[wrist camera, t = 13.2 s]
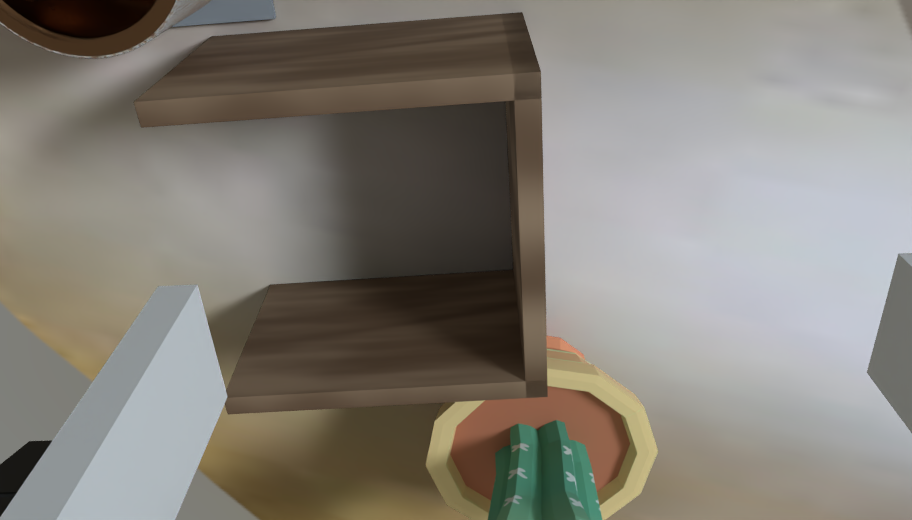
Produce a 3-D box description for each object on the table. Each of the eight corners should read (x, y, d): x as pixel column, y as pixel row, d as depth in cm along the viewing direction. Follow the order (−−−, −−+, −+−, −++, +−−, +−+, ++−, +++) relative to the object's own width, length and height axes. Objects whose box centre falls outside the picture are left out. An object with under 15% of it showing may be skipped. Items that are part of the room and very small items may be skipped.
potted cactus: (484, 265, 52) (498, 582, 30) (674, 342, 55) (812, 679, 33) (398, 418, 59) (359, 765, 37) (571, 479, 62) (628, 831, 40)
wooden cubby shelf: (211, 36, 44) (133, 102, 34) (522, 12, 43) (540, 71, 33) (273, 299, 53) (227, 414, 43) (530, 283, 52) (547, 396, 42)
